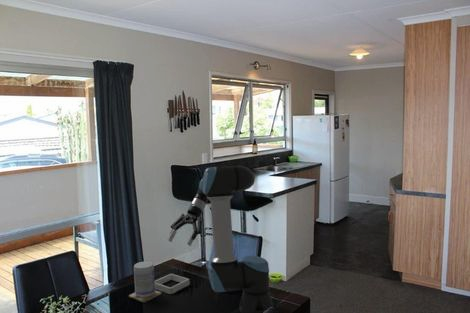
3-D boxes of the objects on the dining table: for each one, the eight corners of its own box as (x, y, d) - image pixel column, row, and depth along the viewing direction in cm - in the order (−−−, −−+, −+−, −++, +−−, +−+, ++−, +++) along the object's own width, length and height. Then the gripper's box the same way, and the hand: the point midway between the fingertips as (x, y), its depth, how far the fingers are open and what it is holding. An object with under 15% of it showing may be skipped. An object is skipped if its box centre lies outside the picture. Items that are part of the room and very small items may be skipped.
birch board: (161, 293, 196) (161, 292, 196) (144, 302, 188) (143, 300, 188) (146, 288, 203) (146, 287, 203) (128, 296, 194) (128, 295, 194)
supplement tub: (158, 294, 194) (156, 265, 192) (139, 299, 189) (137, 269, 187) (150, 287, 202) (149, 259, 200) (132, 292, 197) (130, 263, 195)
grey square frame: (189, 284, 206) (189, 279, 206) (170, 294, 196) (170, 288, 195) (171, 278, 215) (170, 273, 214) (151, 287, 204) (151, 282, 203)
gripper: (217, 214, 214) (200, 249, 203) (183, 210, 228) (165, 242, 217) (211, 206, 209) (193, 242, 198) (176, 202, 223) (157, 235, 212)
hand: (178, 242), depth 208 cm, fingers open, 13 cm apart
